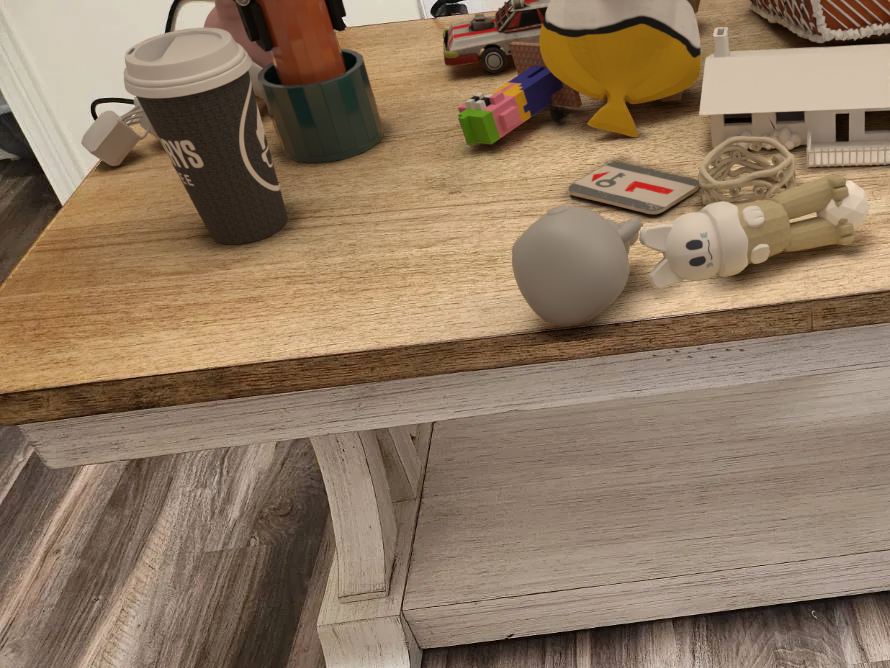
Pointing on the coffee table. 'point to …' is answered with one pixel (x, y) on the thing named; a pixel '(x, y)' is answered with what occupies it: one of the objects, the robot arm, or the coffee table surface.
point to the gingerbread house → (827, 17)
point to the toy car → (494, 34)
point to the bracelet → (745, 171)
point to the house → (800, 98)
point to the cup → (302, 41)
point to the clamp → (130, 129)
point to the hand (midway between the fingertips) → (300, 35)
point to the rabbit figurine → (754, 230)
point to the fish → (621, 52)
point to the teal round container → (324, 113)
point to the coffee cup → (210, 129)
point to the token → (634, 187)
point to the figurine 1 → (236, 30)
